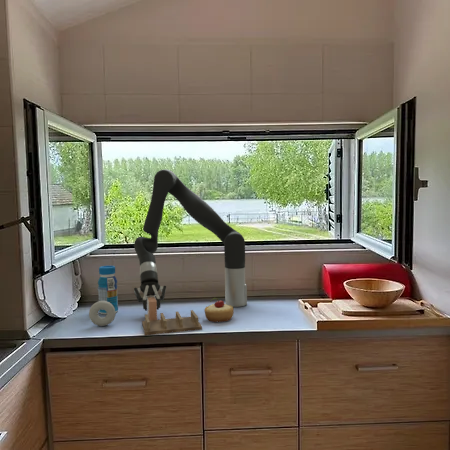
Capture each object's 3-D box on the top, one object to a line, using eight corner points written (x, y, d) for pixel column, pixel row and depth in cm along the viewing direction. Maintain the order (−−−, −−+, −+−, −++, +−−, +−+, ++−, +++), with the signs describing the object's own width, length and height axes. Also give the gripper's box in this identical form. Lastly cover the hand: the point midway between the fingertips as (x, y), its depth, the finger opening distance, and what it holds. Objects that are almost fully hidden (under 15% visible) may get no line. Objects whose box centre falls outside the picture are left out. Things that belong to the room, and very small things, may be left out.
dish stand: (194, 319, 167) (194, 308, 166) (202, 329, 153) (201, 318, 153) (142, 324, 161) (141, 313, 161) (144, 335, 148) (144, 324, 147)
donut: (88, 328, 157) (87, 302, 157) (90, 325, 161) (89, 300, 160) (115, 326, 159) (114, 301, 158) (116, 323, 162) (115, 298, 162)
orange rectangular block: (154, 315, 174) (154, 296, 173) (157, 321, 165) (156, 301, 165) (147, 315, 173) (147, 297, 172) (149, 321, 164) (148, 302, 164)
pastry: (236, 322, 161) (236, 300, 160) (207, 325, 159) (206, 302, 158) (230, 314, 173) (230, 293, 172) (202, 316, 170) (202, 295, 170)
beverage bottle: (95, 314, 175) (94, 268, 174) (102, 309, 184) (100, 265, 182) (115, 314, 175) (113, 268, 174) (121, 309, 184) (119, 265, 182)
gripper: (132, 270, 174) (134, 305, 163) (165, 268, 178) (170, 302, 167) (131, 280, 180) (134, 315, 169) (164, 278, 183) (168, 312, 172)
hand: (152, 309), depth 168 cm, fingers open, 4 cm apart
